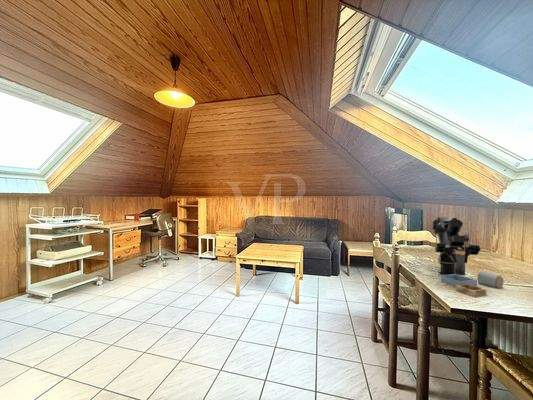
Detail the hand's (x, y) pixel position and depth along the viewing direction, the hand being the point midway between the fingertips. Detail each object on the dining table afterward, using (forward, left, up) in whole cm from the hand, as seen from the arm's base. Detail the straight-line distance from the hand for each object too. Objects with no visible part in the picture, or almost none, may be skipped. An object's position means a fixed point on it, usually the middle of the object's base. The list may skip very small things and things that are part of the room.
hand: (460, 262), depth 120 cm
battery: (-1, +1, -6) cm, 7 cm away
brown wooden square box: (+8, -6, -13) cm, 17 cm away
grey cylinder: (+3, +17, -13) cm, 22 cm away
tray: (-3, +2, -13) cm, 13 cm away
